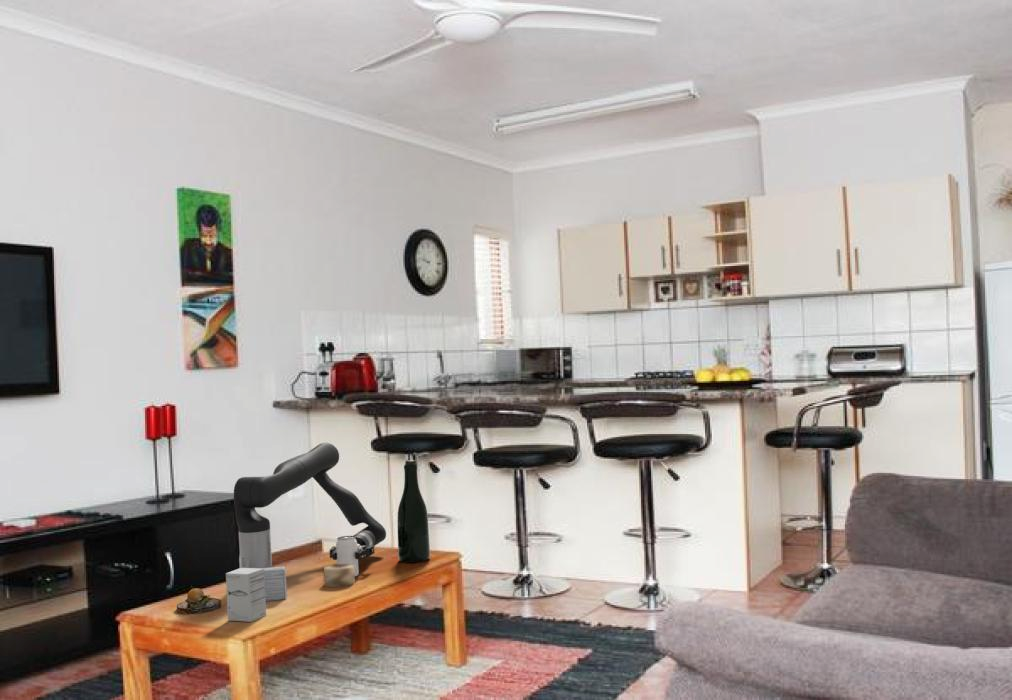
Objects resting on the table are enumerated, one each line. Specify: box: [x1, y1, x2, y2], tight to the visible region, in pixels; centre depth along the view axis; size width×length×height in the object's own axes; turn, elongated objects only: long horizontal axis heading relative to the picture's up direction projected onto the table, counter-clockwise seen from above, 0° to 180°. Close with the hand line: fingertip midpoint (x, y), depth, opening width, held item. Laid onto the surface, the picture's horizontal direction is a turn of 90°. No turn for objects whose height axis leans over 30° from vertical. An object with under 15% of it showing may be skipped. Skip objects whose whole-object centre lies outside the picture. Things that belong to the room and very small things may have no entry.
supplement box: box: [225, 567, 267, 623], centre depth 253 cm, size 7×7×13 cm
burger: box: [176, 585, 222, 615], centre depth 267 cm, size 12×12×8 cm
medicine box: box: [261, 565, 288, 602], centre depth 273 cm, size 8×4×9 cm, turn 100°
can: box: [335, 535, 360, 578], centre depth 298 cm, size 6×6×12 cm
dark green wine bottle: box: [396, 459, 431, 563], centre depth 317 cm, size 10×10×33 cm
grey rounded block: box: [323, 564, 356, 588], centre depth 288 cm, size 9×9×5 cm
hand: (345, 556), depth 296 cm, fingers closed on can, 6 cm apart
